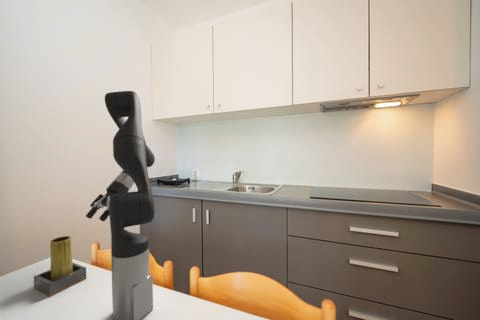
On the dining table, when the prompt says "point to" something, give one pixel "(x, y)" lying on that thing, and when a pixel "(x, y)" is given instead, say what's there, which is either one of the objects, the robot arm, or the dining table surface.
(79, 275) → the square grey tray
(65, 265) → the vase
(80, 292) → the dining table surface
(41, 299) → the dining table surface
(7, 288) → the dining table surface
